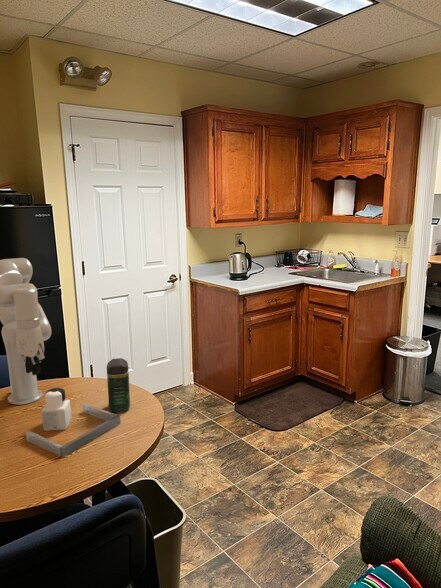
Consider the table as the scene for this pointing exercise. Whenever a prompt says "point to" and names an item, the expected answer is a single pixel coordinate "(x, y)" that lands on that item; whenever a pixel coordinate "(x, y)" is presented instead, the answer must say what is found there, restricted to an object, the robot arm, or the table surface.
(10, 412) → the table surface
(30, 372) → the robot arm
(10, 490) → the table surface
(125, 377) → the coffee jar
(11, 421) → the table surface
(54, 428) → the container
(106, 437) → the table surface
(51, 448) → the bracket
